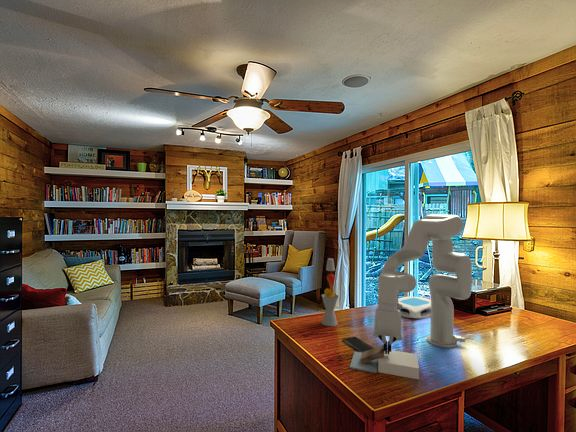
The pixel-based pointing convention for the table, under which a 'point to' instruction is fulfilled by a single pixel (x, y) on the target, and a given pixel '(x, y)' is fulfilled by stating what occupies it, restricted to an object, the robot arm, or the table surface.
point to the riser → (399, 364)
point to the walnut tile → (372, 354)
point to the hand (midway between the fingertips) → (387, 352)
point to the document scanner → (415, 307)
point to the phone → (357, 344)
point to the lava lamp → (330, 297)
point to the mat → (367, 366)
